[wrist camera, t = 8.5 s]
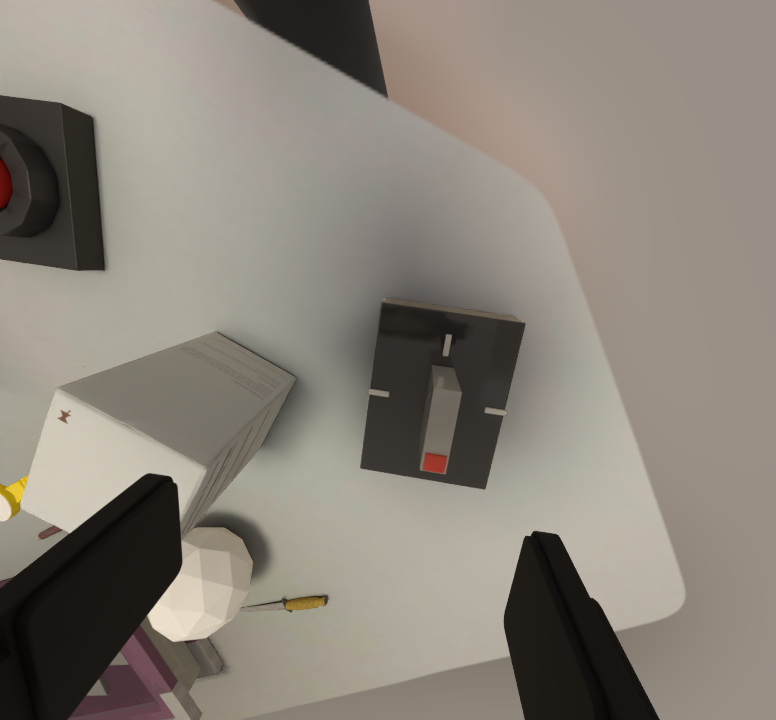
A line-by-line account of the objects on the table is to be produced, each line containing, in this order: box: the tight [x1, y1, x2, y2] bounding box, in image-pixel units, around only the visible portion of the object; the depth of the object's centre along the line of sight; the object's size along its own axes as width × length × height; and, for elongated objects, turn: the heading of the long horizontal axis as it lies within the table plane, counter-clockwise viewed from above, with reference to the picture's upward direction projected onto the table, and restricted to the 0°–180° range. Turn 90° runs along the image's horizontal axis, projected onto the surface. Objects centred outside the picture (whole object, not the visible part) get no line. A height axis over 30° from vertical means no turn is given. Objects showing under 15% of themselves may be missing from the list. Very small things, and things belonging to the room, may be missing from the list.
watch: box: [0, 475, 29, 521], centre depth 29 cm, size 6×3×6 cm, turn 118°
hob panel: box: [360, 298, 525, 489], centre depth 25 cm, size 12×9×3 cm
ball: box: [147, 527, 253, 642], centre depth 29 cm, size 8×8×8 cm
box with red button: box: [420, 365, 462, 474], centre depth 22 cm, size 5×2×5 cm, turn 172°
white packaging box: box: [20, 332, 296, 541], centre depth 22 cm, size 7×7×13 cm
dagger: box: [239, 597, 328, 612], centre depth 34 cm, size 11×1×2 cm
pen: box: [35, 526, 62, 540], centre depth 33 cm, size 11×1×1 cm, turn 118°
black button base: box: [0, 95, 104, 271], centre depth 24 cm, size 10×8×4 cm
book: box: [0, 578, 223, 720], centre depth 35 cm, size 25×16×5 cm, turn 111°
